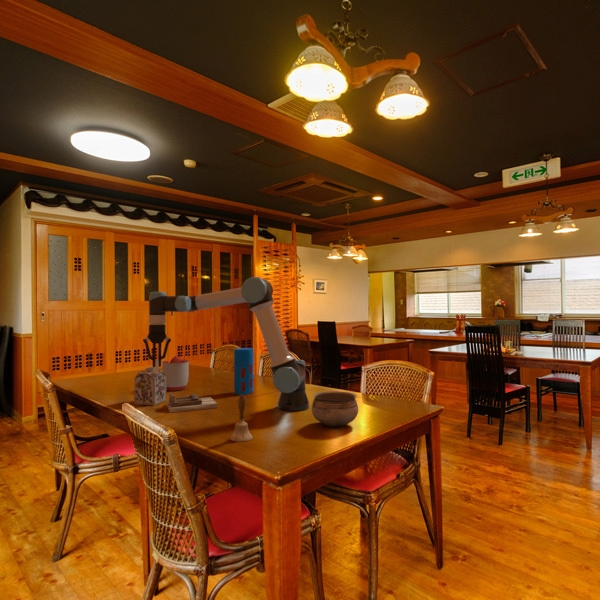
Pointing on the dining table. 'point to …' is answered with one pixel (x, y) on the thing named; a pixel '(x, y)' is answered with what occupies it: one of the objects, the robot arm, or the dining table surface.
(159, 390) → the decorative jar
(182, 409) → the keyhole board
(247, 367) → the thermos
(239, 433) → the hand bell
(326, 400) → the cooking pot
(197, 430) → the dining table surface
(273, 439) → the dining table surface
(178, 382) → the citrus juicer
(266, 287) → the robot arm
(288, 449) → the dining table surface
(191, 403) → the walnut panel
